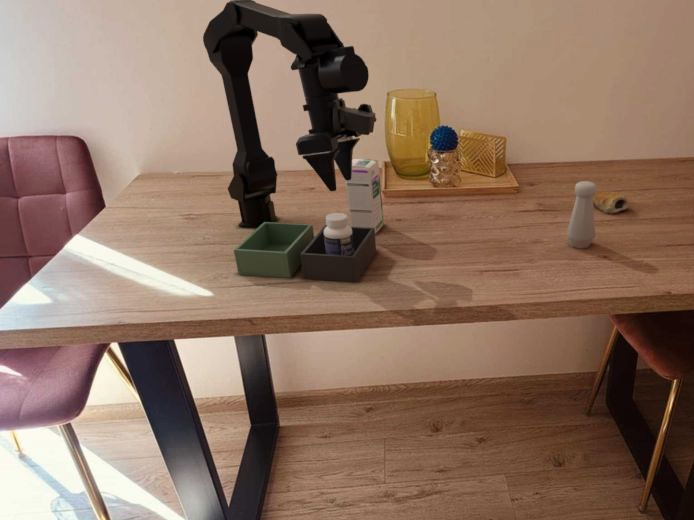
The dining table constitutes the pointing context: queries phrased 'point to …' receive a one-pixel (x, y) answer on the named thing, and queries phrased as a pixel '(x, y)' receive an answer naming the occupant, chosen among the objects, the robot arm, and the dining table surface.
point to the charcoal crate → (338, 257)
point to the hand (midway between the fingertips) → (341, 185)
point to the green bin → (273, 249)
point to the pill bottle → (338, 235)
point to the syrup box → (365, 195)
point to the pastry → (610, 202)
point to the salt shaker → (582, 216)
